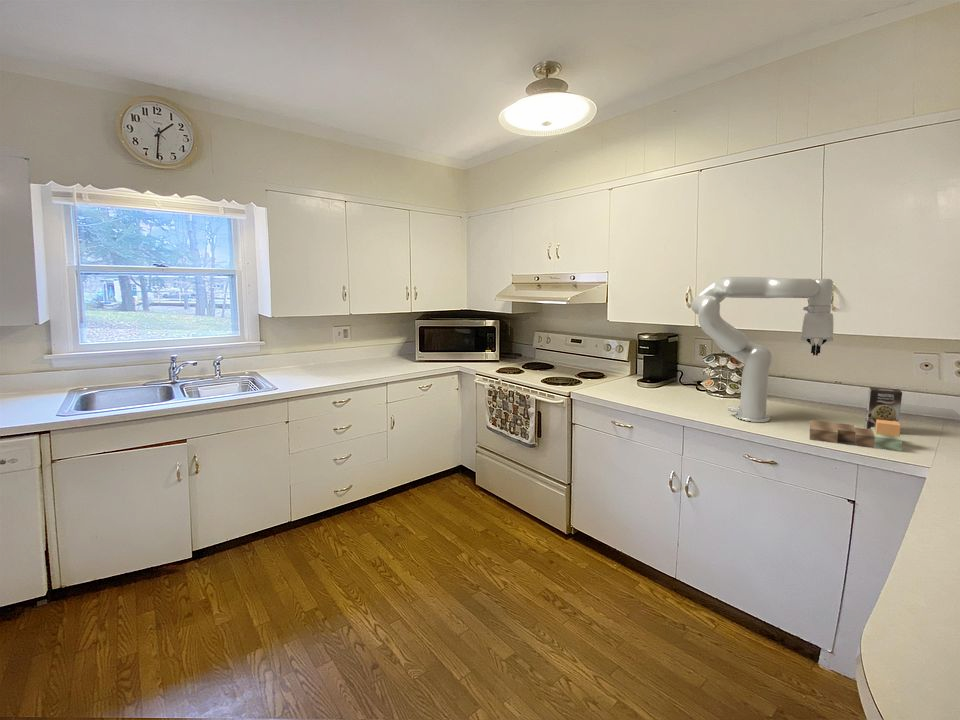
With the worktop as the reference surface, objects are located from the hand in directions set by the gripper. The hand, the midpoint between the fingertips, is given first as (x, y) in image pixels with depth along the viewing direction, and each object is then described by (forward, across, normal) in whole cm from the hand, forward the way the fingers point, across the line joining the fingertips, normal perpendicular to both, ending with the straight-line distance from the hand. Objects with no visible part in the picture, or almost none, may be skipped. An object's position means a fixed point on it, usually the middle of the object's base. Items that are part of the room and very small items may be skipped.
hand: (815, 355), depth 190 cm
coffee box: (+27, +22, -5) cm, 35 cm away
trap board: (+27, +12, -24) cm, 38 cm away
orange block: (+23, +22, -24) cm, 40 cm away
